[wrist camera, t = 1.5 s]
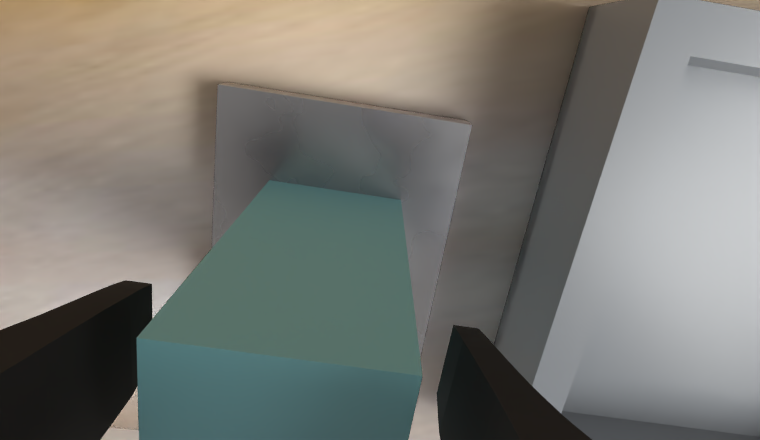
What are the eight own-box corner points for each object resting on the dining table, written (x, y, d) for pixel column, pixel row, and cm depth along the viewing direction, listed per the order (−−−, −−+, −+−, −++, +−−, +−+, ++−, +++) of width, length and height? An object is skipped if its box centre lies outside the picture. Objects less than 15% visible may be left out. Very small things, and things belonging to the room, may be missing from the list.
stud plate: (413, 365, 19) (419, 419, 16) (216, 338, 19) (187, 390, 16) (466, 120, 16) (485, 136, 13) (227, 82, 16) (193, 90, 13)
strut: (380, 313, 17) (378, 567, 9) (260, 296, 17) (141, 540, 9) (400, 199, 16) (422, 375, 7) (269, 179, 16) (136, 338, 7)
